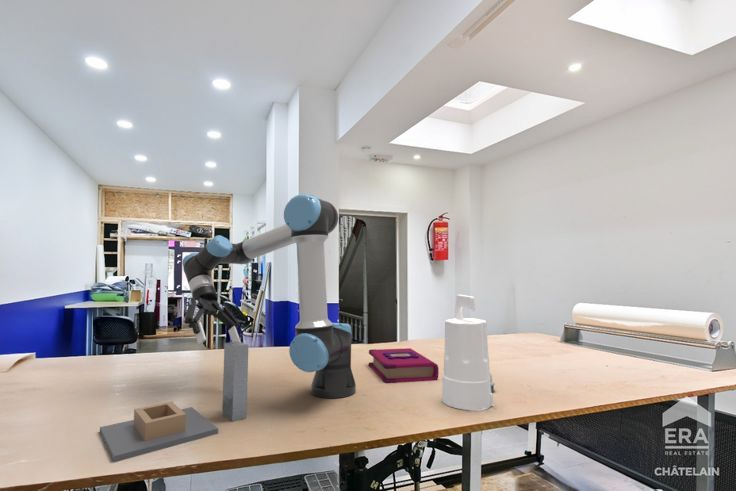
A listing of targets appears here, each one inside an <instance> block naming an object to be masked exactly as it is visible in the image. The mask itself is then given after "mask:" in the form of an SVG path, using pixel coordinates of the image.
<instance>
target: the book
mask: <svg viewBox="0 0 736 491" xmlns="http://www.w3.org/2000/svg"><path fill="white" fill-rule="evenodd" d="M368 354H369V355H370V356H372V359H373V360H372V362H371V361H370V362H368V367H369V368H370V369H371V370H373V372H374V373H375V374H377V376H378V378H380V379H381V381H382V382H383V383H385V384H398V383H411V382H430V381H437V380H438V379H439V373H440V372H439V365H438V364H437V363H435V362H434V361H432V360H431V359H429V358H428V357H425V356H424V355H422V354H421V353H419V352H417V351H416V350H414V349H413V348H411V347H409V348H407V347H406V348H385V349H383V348H382V349H380V348H379V349H369V350H368Z"/></svg>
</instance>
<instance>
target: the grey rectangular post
mask: <svg viewBox="0 0 736 491" xmlns="http://www.w3.org/2000/svg"><path fill="white" fill-rule="evenodd" d="M223 356H224V357H223V376H222V377H223V379H222V382H223V383H222V407H221V408H222V411H221V413H222V414H221V415H222V416H224V417H226V419H228V420H229V421H231V422H236V421H240V420H241V421H242V420H245V419H247V413H248V412H247V410H248V408H247V407H248V376H249V375H248V374H249V373H248V372H249V371H248V370H249V344H247V343H245V342H242V341H241V342H239V341H236V342H232V341H229V342H224V350H223ZM244 418H245V419H244Z"/></svg>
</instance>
